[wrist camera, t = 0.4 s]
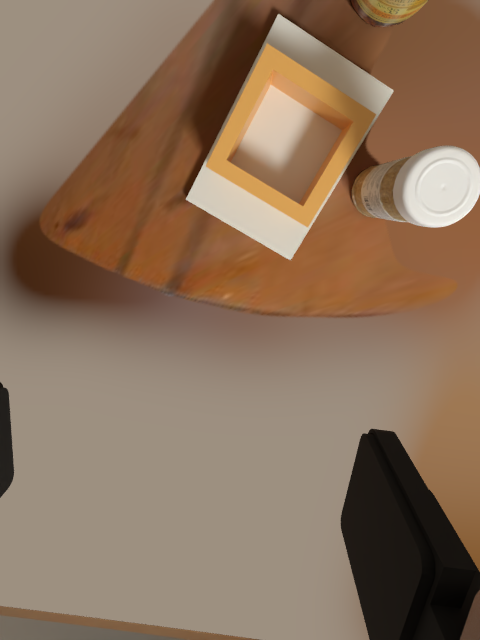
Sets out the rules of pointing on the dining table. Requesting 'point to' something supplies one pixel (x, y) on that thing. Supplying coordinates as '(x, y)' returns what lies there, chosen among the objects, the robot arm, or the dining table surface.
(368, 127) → the socket base
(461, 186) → the sprinkles bottle
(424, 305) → the dining table surface
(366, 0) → the sauce bottle
